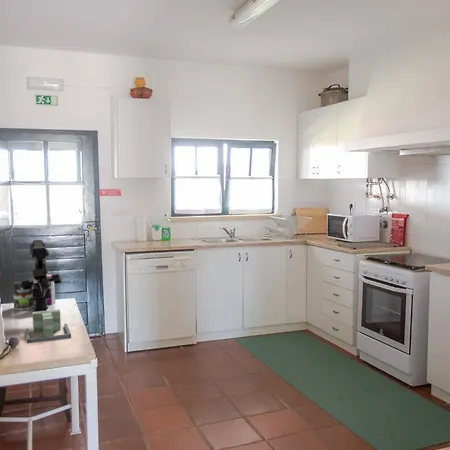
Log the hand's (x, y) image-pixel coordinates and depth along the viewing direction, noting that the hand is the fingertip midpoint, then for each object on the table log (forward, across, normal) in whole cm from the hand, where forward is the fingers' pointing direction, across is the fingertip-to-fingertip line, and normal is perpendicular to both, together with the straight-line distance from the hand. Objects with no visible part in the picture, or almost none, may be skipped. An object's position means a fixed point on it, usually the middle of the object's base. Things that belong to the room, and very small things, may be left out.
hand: (42, 297), depth 249 cm
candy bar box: (-13, -7, +37) cm, 40 cm away
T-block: (+23, +3, -8) cm, 24 cm away
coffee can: (-10, -17, +31) cm, 37 cm away
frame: (+23, +3, -8) cm, 25 cm away
